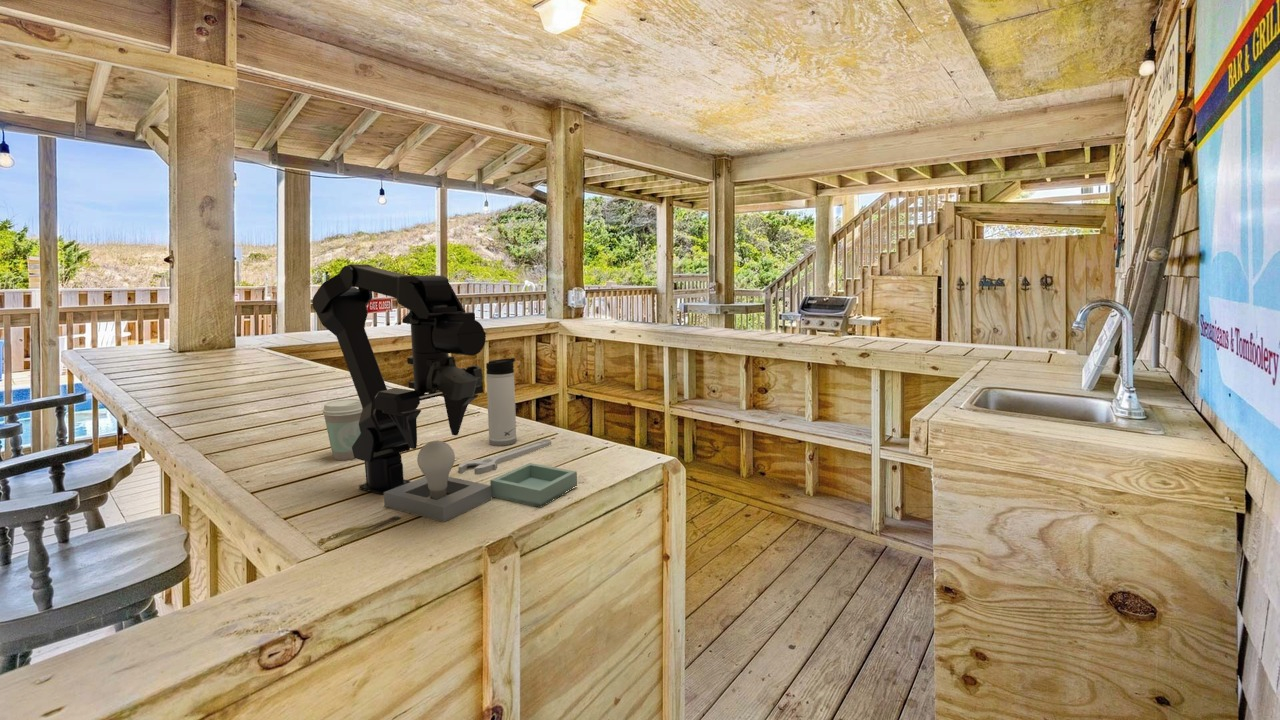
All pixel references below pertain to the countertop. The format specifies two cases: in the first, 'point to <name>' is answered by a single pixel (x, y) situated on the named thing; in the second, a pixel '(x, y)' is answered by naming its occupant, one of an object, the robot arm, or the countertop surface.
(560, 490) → the parts tray
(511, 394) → the travel mug
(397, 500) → the socket board
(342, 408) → the coffee cup
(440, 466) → the lightbulb
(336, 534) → the tongs
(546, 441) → the adjustable wrench
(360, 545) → the countertop surface
